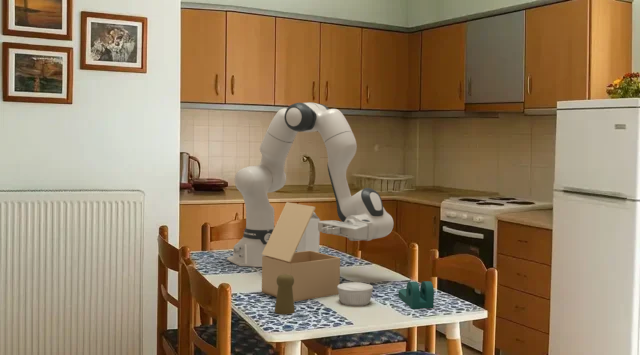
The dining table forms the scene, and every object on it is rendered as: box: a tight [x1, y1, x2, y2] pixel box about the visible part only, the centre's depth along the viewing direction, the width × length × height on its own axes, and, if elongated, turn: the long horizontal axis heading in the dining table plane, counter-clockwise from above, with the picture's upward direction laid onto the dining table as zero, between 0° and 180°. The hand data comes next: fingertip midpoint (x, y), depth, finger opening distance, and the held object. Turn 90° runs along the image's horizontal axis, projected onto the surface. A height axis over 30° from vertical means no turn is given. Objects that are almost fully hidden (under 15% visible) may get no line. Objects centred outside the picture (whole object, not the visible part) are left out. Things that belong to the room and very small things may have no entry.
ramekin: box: [337, 281, 374, 307], centre depth 224 cm, size 11×11×5 cm
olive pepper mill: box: [274, 274, 296, 315], centre depth 211 cm, size 6×6×11 cm
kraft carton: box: [261, 251, 341, 303], centre depth 234 cm, size 16×20×12 cm
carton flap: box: [262, 201, 317, 262], centre depth 230 cm, size 15×19×1 cm
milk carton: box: [296, 211, 321, 253], centre depth 309 cm, size 7×7×19 cm
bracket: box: [397, 280, 435, 310], centre depth 227 cm, size 18×7×8 cm, turn 10°
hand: (324, 230), depth 239 cm, fingers closed
